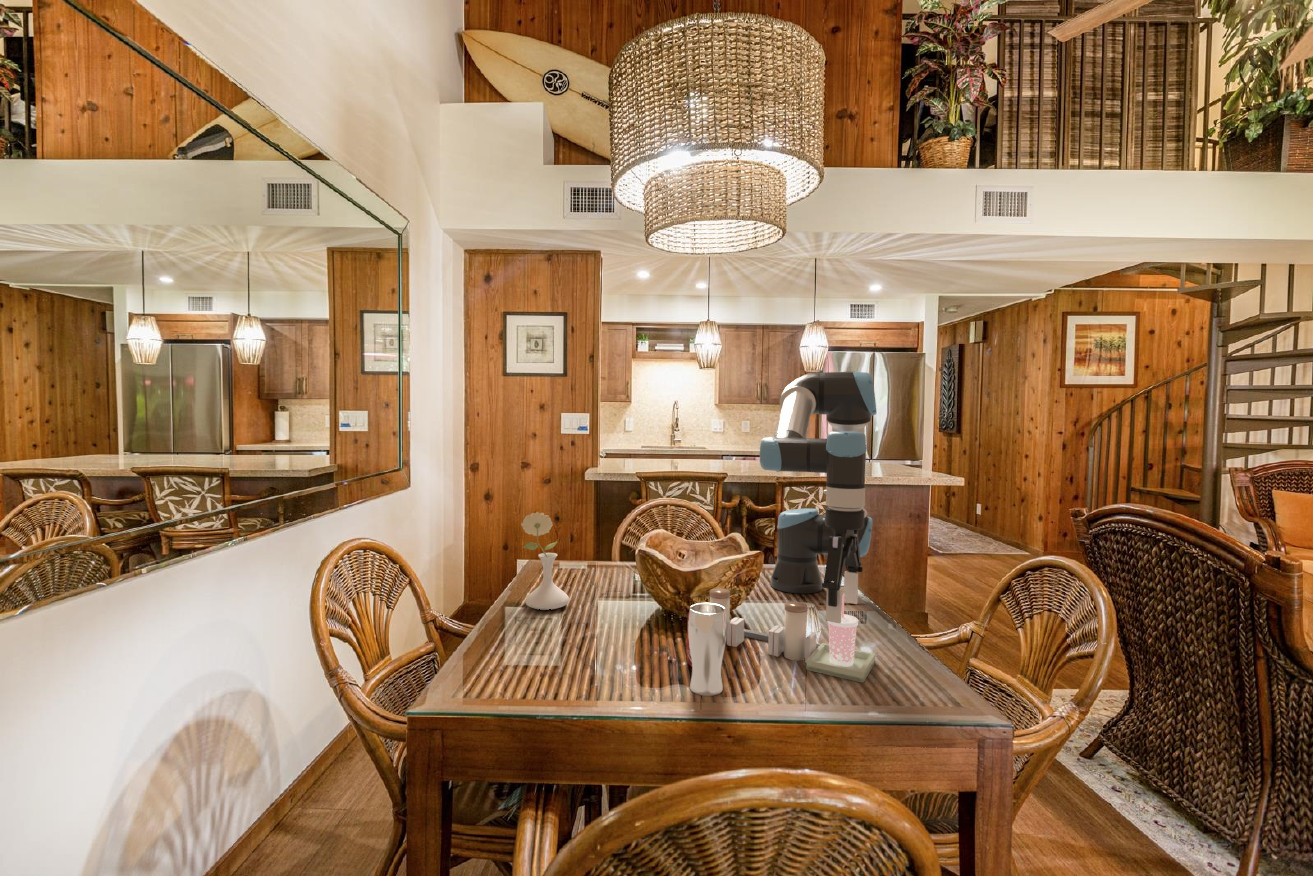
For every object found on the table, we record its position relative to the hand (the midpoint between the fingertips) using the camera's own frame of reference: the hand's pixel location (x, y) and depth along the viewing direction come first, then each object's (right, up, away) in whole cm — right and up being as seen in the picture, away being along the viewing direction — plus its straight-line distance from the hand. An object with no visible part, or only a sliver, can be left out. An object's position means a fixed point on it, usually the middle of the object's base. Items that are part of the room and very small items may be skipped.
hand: (842, 611), depth 121 cm
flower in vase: (-67, -9, +36) cm, 77 cm away
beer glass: (-29, -11, -11) cm, 33 cm away
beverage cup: (0, -11, 0) cm, 11 cm away
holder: (-15, -11, +11) cm, 22 cm away
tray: (0, -11, 0) cm, 11 cm away
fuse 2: (-9, -11, +5) cm, 15 cm away
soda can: (-28, -11, -1) cm, 30 cm away
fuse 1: (-24, -10, +14) cm, 29 cm away
